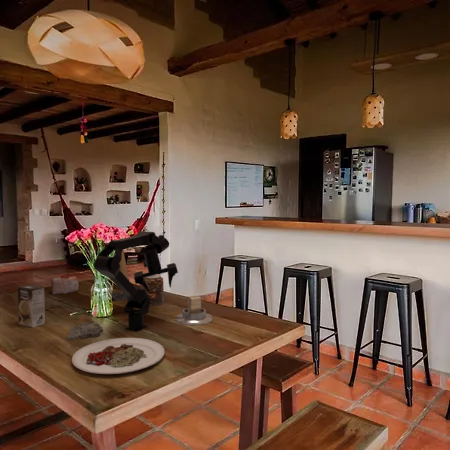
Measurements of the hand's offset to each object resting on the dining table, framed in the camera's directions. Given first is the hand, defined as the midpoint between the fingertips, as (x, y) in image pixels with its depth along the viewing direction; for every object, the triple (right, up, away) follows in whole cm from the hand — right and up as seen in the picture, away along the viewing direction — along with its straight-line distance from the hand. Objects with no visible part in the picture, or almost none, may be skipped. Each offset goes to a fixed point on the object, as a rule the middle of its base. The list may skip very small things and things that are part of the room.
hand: (159, 289), depth 181 cm
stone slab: (-27, -15, -18) cm, 36 cm away
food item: (-61, -9, +47) cm, 77 cm away
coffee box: (-53, -13, -9) cm, 55 cm away
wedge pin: (+15, -12, -1) cm, 19 cm away
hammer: (-23, -10, +36) cm, 44 cm away
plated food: (-7, -16, -44) cm, 47 cm away
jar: (-8, -11, +26) cm, 29 cm away
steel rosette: (+15, -13, -1) cm, 20 cm away
